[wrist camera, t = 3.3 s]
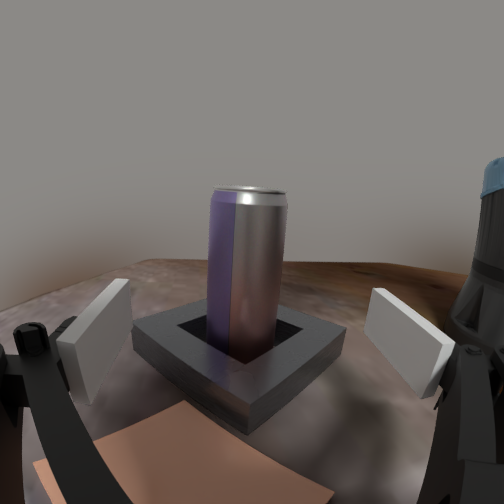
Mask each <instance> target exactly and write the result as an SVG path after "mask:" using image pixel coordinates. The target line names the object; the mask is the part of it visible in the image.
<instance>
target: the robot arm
mask: <svg viewBox="0 0 504 504" xmlns="http://www.w3.org/2000/svg"><path fill="white" fill-rule="evenodd" d="M480 198H481V199H482V204H481V213H480V221H479V229H478V235H477V241H476V246H475V252H474V258H473V262H472V267H471V271H470V274H469V276H468V278H467V280H466V282H465V284H464V285H463V287H462V289H461V291H460V292H459V294H458V296H457V297H456V299H455V301H454V302H453V304H452V306H451V307H450V309H449V311H448V314H447V317H446V321H445V324H444V331H445V333H446V334H444V333H443V332H442V331H440V330H439V329H438V328H437V327H435V326H434V325H433V324H431V323H430V322H429V321H427V320H426V319H425V318H423V317H422V316H421V315H419V314H418V313H417V312H415V311H414V310H413V309H411V308H410V307H409V306H407V305H406V304H405V303H403V302H402V301H401V300H399V299H398V298H397V297H395V296H394V295H392V294H391V293H390V292H388V291H387V290H386V289H384V288H373V289H372V294H371V299H370V304H369V309H368V313H367V318H366V322H365V327H364V331H363V332H364V333H365V334H366V335H367V337H368V338H369V339H370V340H371V341H372V342H373V343H374V345H375V346H376V347H377V348H378V349H379V350H380V352H381V353H382V354H383V355H384V356H385V357H386V359H387V360H388V361H389V362H390V363H391V364H392V366H393V367H394V368H395V369H396V370H397V371H398V373H399V374H400V375H401V376H402V377H403V379H404V380H405V381H406V382H407V383H408V384H409V386H410V387H411V388H412V389H413V390H414V392H415V393H416V394H417V395H418V396H419V398H420V399H424V398H428V397H432V396H434V394H435V392H436V390H437V387H438V385H440V386H441V387H442V388H443V390H442V393H441V395H440V397H439V399H438V401H437V403H436V405H435V407H434V410H436V408H437V407H438V413H437V420H436V426H435V432H434V437H433V442H432V447H431V452H430V457H429V461H428V465H427V469H426V473H425V477H424V481H423V484H422V488H421V491H420V494H419V498H418V501H417V504H504V157H501V158H498V159H495V160H493V161H491V162H490V163H489V164H488V165H487V167H486V169H485V172H484V181H483V190H482V193H481V197H480ZM132 328H133V320H132V309H131V296H130V280H129V279H117V278H116V279H115V280H114V281H113V282H112V283H111V284H110V285H109V286H108V287H107V288H106V289H105V290H104V291H103V292H102V293H101V294H100V295H99V296H98V297H97V298H96V299H95V300H94V301H93V302H92V303H91V304H90V305H89V306H88V307H87V308H86V309H85V310H84V311H83V312H82V313H81V314H80V315H79V316H78V317H76V316H73V317H71V318H69V319H67V320H65V321H64V322H63V323H62V324H61V325H60V326H59V327H58V328H57V329H56V330H55V332H53V333H52V334H51V335H50V336H49V337H48V335H47V331H46V327H45V326H44V325H43V324H41V323H36V322H31V323H25V324H22V325H20V326H18V327H17V328H16V329H15V330H14V332H13V336H14V339H15V343H16V346H17V350H18V353H19V355H6V354H5V351H4V348H3V346H2V345H1V344H0V504H25V500H24V490H23V475H22V425H23V409H24V407H30V409H31V412H32V416H33V419H34V423H35V426H36V429H37V432H38V436H39V439H40V441H41V444H42V447H43V450H44V453H45V455H46V458H47V461H48V463H49V466H50V468H51V471H52V473H53V475H54V478H55V480H56V482H57V485H58V487H59V489H60V491H61V493H62V495H63V497H64V499H65V501H66V503H67V504H134V503H133V502H132V501H131V500H130V498H129V497H128V496H127V494H126V493H125V492H124V490H123V489H122V487H121V486H120V484H119V483H118V482H117V480H116V479H115V477H114V476H113V474H112V472H111V471H110V469H109V468H108V466H107V465H106V463H105V461H104V460H103V458H102V457H101V455H100V453H99V452H98V450H97V448H96V446H95V445H94V443H93V441H92V439H91V437H90V436H89V434H88V432H87V430H86V428H85V426H84V424H83V422H82V420H81V418H80V416H79V414H78V412H77V410H76V408H75V406H74V404H73V402H76V403H80V404H85V405H89V406H91V405H92V403H93V401H94V399H95V397H96V395H97V393H98V391H99V389H100V387H101V385H102V383H103V381H104V379H105V377H106V376H107V374H108V372H109V370H110V368H111V366H112V364H113V362H114V361H115V359H116V357H117V355H118V353H119V351H120V350H121V348H122V346H123V344H124V342H125V341H126V339H127V337H128V335H129V333H130V332H131V330H132ZM502 385H503V390H502V392H501V394H500V393H499V391H500V389H501V387H502ZM69 391H70V393H71V396H72V399H73V402H72V400H71V398H70V395H69V393H68V392H69Z"/></svg>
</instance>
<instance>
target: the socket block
mask: <svg viewBox="0 0 504 504" xmlns="http://www.w3.org/2000/svg"><path fill="white" fill-rule="evenodd" d="M346 329H347V328H346V327H343V326H340V325H337V324H334V323H331V322H328V321H325V320H322V319H319V318H316V317H313V316H310V315H307V314H304V313H302V312H299V311H296V310H293V309H290V308H287V307H285V306H282V305H279V304H278V311H277V320H276V329H275V337H274V346H276V347H275V348H273V349H271V350H270V351H268V352H266V353H265V354H263V355H261V356H260V357H258V358H256V359H255V360H253V361H251V362H249V363H248V364H246V365H244V364H242V363H241V362H239V361H237V360H235V359H233V358H231V357H230V356H228V355H226V354H224V353H222V352H221V351H219V350H217V349H215V348H214V347H212V346H210V345H208V344H207V343H205V342H206V333H207V298H206V299H203V300H200V301H197V302H193V303H190V304H187V305H184V306H180V307H177V308H174V309H170V310H167V311H164V312H160V313H157V314H154V315H150V316H147V317H143V318H140V319H137V320H133V328H132V330H131V333H132V341H133V349H134V350H135V351H136V352H137V353H138V354H139V355H140V356H141V357H142V358H144V359H145V360H146V361H147V362H148V363H149V364H151V365H152V366H153V367H154V368H155V369H156V370H158V371H159V372H160V373H161V374H162V375H164V376H165V377H166V378H167V379H169V380H170V381H171V382H172V383H174V384H175V385H176V386H177V387H179V388H180V389H181V390H182V391H184V392H185V393H186V394H188V395H189V396H190V397H192V398H193V399H194V400H196V401H197V402H198V403H200V404H201V405H202V406H204V407H205V408H207V409H208V410H209V411H211V412H212V413H214V414H215V415H217V416H218V417H219V418H221V419H222V420H224V421H225V422H227V423H228V424H230V425H231V426H233V427H234V428H236V429H237V430H239V431H240V432H242V433H244V434H245V435H249V434H250V433H251V432H252V431H254V430H255V429H256V428H258V427H259V426H260V425H262V424H263V423H264V422H265V421H267V420H268V419H269V418H270V417H272V416H273V415H274V414H275V413H276V412H278V411H279V410H280V409H281V408H283V407H284V406H285V405H286V404H287V403H288V402H290V401H291V400H292V399H293V398H294V397H295V396H297V395H298V394H299V393H300V392H301V391H302V390H303V389H305V388H306V387H307V386H308V385H309V384H310V383H311V382H312V381H313V380H314V379H316V378H317V377H318V376H319V375H320V374H321V373H322V372H323V371H324V370H325V369H326V368H327V367H328V366H329V365H330V364H331V363H332V362H333V361H335V360H336V359H337V358H338V357H339V356H340V355H341V351H342V347H343V342H344V338H345V333H346Z"/></svg>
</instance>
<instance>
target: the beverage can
mask: <svg viewBox="0 0 504 504" xmlns="http://www.w3.org/2000/svg"><path fill="white" fill-rule="evenodd" d="M214 188H215V190H214V193H213V195H212V198H211V205H210V225H209V249H208V278H207V333H206V343H207V344H208V345H210V346H212V347H214V348H215V349H217V350H219V351H221V352H222V353H224V354H226V355H228V356H230V357H231V358H233V359H235V360H237V361H239V362H241V363H242V364H244V365H246V364H248V363H249V362H251V361H253V360H255V359H256V358H258V357H260V356H261V355H263V354H265V353H266V352H268V351H270V350H271V349H273V345H274V337H275V329H276V320H277V311H278V302H279V293H280V283H281V273H282V263H283V253H284V242H285V231H286V220H287V209H288V204H287V200H286V195H285V193H286V190H284V189H275V188H263V187H249V186H232V185H215V186H214Z"/></svg>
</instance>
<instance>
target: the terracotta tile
mask: <svg viewBox="0 0 504 504" xmlns="http://www.w3.org/2000/svg"><path fill="white" fill-rule="evenodd" d="M93 443H94V445H95V446H96V448H97V450H98V452H99V453H100V455H101V457H102V458H103V460H104V461H105V463H106V465H107V466H108V468H109V469H110V471H111V472H112V474H113V476H114V477H115V479H116V480H117V482H118V483H119V484H120V486H121V487H122V489H123V490H124V492H125V493H126V494H127V496H128V497H129V498H130V500H131V501H132V502H133V503H134V504H327V503H328V502H329V500H330V499H331V498H332V496H333V495H334V493H335V492H334V491H332V490H330V489H328V488H325V487H323V486H321V485H319V484H317V483H315V482H313V481H311V480H309V479H307V478H305V477H303V476H301V475H299V474H297V473H295V472H294V471H292V470H290V469H288V468H286V467H284V466H283V465H281V464H279V463H277V462H276V461H274V460H272V459H270V458H269V457H267V456H265V455H264V454H262V453H260V452H259V451H257V450H255V449H254V448H252V447H251V446H249V445H247V444H246V443H244V442H243V441H241V440H240V439H238V438H237V437H235V436H234V435H232V434H231V433H229V432H228V431H226V430H225V429H223V428H222V427H220V426H219V425H218V424H216V423H215V422H213V421H212V420H211V419H209V418H208V417H206V416H205V415H204V414H202V413H201V412H200V411H198V410H197V409H196V408H194V407H193V406H192V405H190V404H189V403H188V402H187V401H185V400H183V401H181V402H179V403H178V404H176V405H174V406H171V407H169V408H167V409H165V410H163V411H161V412H159V413H157V414H155V415H153V416H151V417H149V418H146V419H144V420H142V421H140V422H138V423H136V424H133V425H131V426H129V427H127V428H124V429H122V430H120V431H117V432H115V433H113V434H110V435H108V436H105V437H103V438H100V439H98V440H95V441H93ZM33 465H34V467H35V469H36V471H37V473H38V476H39V478H40V480H41V482H42V484H43V486H44V488H45V490H46V492H47V494H48V495H49V497H50V499H51V501H52V503H53V504H67V503H66V501H65V499H64V497H63V495H62V493H61V491H60V489H59V487H58V485H57V482H56V480H55V478H54V475H53V473H52V471H51V468H50V466H49V463H48V461H47V458H46V459H43V460H39V461H36V462H33Z"/></svg>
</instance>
